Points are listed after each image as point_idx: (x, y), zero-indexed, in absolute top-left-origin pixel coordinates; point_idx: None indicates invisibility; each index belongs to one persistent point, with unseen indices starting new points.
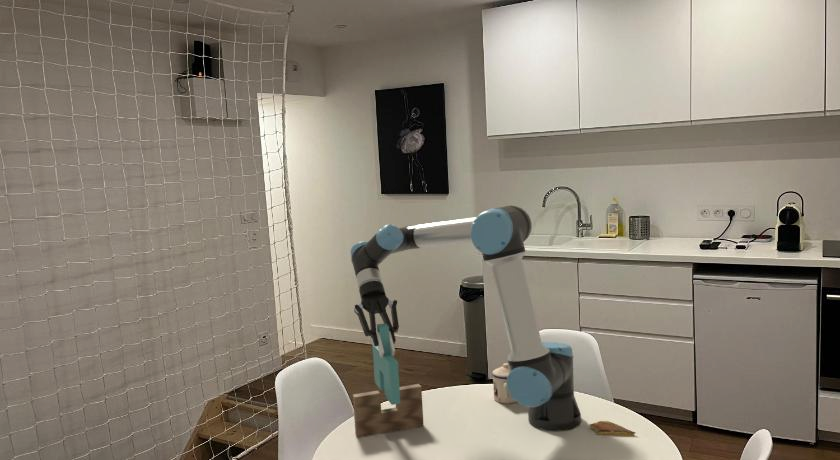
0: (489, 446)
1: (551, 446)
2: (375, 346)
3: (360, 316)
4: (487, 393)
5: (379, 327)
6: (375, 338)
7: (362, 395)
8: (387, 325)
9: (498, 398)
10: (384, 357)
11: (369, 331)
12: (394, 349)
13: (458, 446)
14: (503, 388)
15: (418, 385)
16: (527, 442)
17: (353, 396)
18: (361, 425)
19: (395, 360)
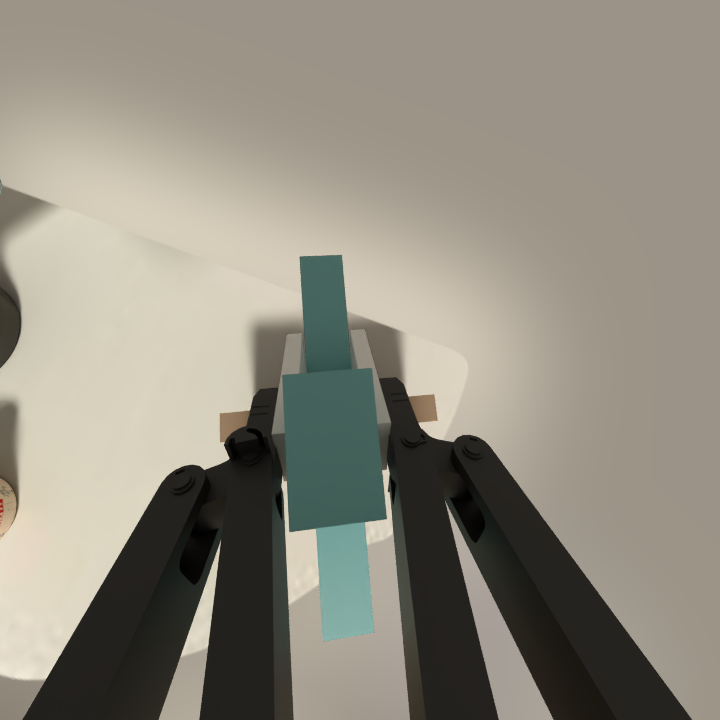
0: (160, 269)
1: (44, 226)
2: (363, 569)
3: (651, 672)
4: (7, 577)
5: (374, 404)
6: (397, 404)
7: (410, 401)
8: (287, 416)
9: (3, 495)
10: (348, 338)
11: (454, 442)
12: (289, 339)
13: (218, 290)
14: None
15: (226, 425)
16: (79, 258)
17: (435, 410)
18: None
19: (307, 272)
